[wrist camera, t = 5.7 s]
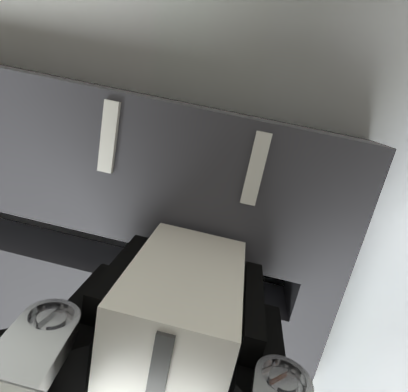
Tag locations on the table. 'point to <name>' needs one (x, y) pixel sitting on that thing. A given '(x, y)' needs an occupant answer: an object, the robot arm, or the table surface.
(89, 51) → the table surface
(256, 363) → the robot arm
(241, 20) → the table surface
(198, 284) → the fader knob
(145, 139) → the fader console
